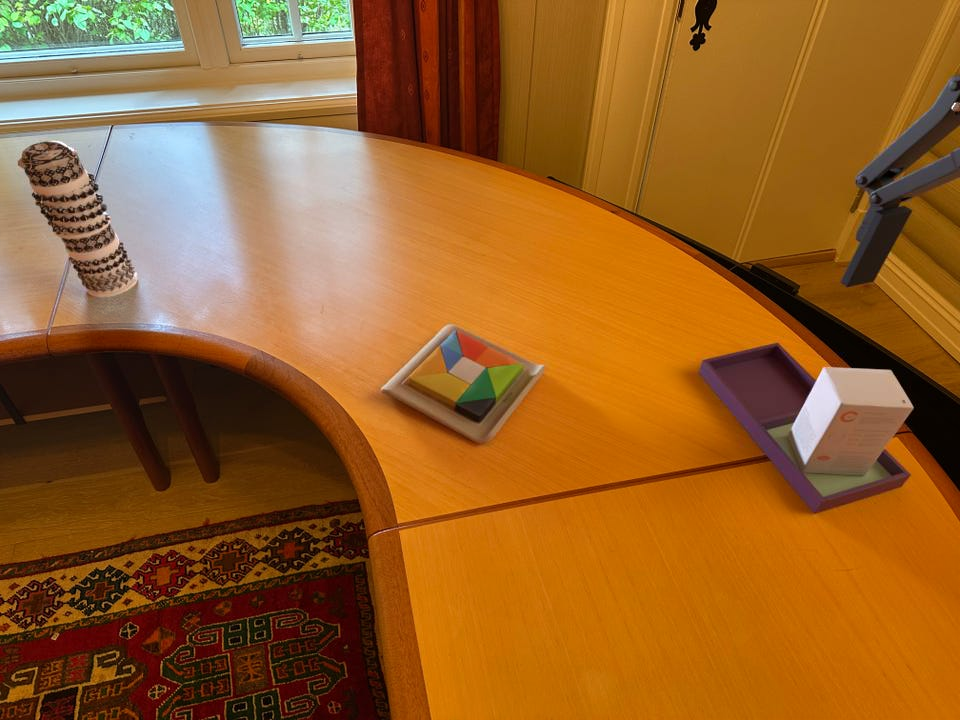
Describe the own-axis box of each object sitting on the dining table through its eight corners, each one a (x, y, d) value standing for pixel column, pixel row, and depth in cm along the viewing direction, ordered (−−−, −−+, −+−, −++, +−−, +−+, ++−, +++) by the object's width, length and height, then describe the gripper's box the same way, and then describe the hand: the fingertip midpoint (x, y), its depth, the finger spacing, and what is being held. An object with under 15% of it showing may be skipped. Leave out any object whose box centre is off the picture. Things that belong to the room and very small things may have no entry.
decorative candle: (147, 284, 108) (85, 149, 91) (92, 305, 103) (15, 166, 86) (131, 262, 113) (69, 129, 96) (78, 281, 108) (2, 146, 91)
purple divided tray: (772, 354, 94) (777, 342, 93) (901, 487, 76) (911, 474, 75) (698, 372, 91) (702, 359, 90) (814, 514, 74) (822, 502, 72)
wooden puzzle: (488, 450, 81) (489, 433, 78) (377, 396, 88) (374, 379, 85) (548, 372, 91) (550, 355, 89) (445, 329, 99) (444, 313, 96)
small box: (847, 438, 81) (892, 368, 72) (865, 477, 76) (916, 408, 68) (785, 434, 82) (822, 365, 73) (799, 473, 77) (842, 404, 68)
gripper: (886, -34, 38) (774, 252, 53) (1441, 113, 21) (1045, 479, 35) (978, -41, 40) (845, 238, 54) (1565, 90, 22) (1137, 449, 37)
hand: (923, 334), depth 45 cm, fingers open, 13 cm apart
